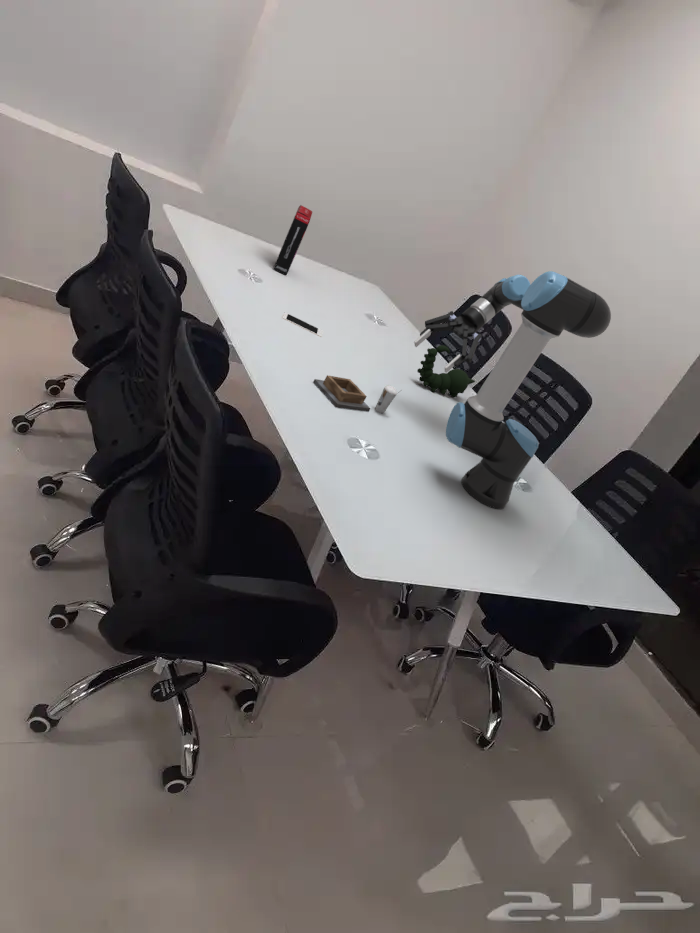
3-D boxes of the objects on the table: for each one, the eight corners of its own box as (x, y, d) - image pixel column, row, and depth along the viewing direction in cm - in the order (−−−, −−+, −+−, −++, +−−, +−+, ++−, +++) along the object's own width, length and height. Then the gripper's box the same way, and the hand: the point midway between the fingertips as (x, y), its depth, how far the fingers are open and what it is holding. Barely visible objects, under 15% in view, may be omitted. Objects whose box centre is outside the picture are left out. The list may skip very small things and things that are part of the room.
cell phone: (321, 338, 267) (321, 336, 267) (281, 319, 264) (282, 317, 264) (322, 331, 274) (323, 330, 274) (283, 313, 271) (284, 311, 271)
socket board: (368, 411, 227) (374, 400, 225) (335, 407, 217) (341, 395, 216) (345, 387, 235) (351, 376, 234) (313, 382, 226) (318, 370, 224)
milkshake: (386, 417, 230) (401, 391, 226) (371, 409, 230) (386, 383, 225) (388, 413, 234) (403, 387, 230) (374, 405, 234) (388, 379, 229)
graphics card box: (286, 276, 314) (312, 218, 302) (271, 269, 312) (297, 210, 300) (289, 267, 329) (314, 211, 317) (275, 260, 327) (299, 204, 315)
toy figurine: (416, 392, 270) (470, 405, 281) (437, 348, 261) (492, 363, 272) (407, 380, 277) (460, 393, 288) (428, 337, 268) (482, 351, 279)
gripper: (505, 344, 231) (458, 386, 228) (449, 300, 240) (403, 340, 237) (506, 331, 224) (458, 375, 221) (449, 286, 233) (402, 327, 230)
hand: (430, 357), depth 229 cm, fingers open, 13 cm apart
